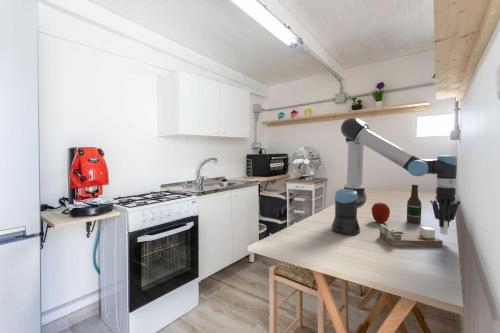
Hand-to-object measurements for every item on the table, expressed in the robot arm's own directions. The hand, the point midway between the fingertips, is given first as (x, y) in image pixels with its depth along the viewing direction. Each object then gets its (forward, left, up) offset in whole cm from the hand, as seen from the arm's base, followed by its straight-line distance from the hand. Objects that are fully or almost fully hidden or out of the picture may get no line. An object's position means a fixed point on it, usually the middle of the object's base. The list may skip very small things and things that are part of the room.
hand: (443, 233), depth 121 cm
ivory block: (0, -8, -1) cm, 8 cm away
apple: (-33, -16, -5) cm, 36 cm away
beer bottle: (-34, +5, -5) cm, 34 cm away
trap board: (0, -16, -4) cm, 17 cm away
